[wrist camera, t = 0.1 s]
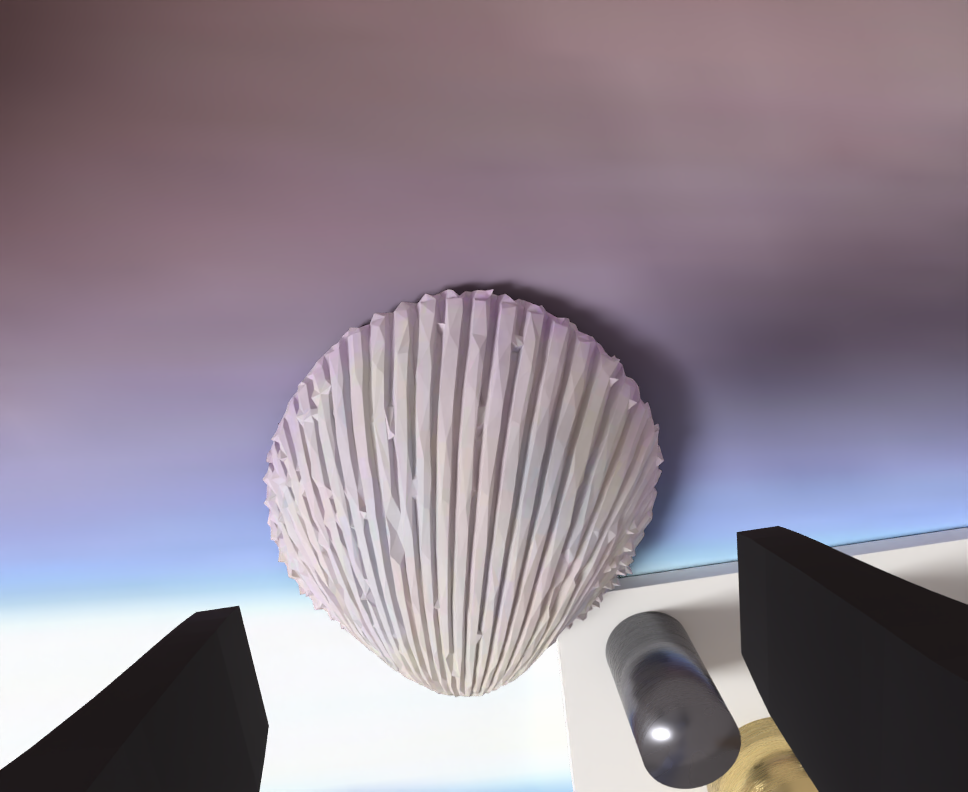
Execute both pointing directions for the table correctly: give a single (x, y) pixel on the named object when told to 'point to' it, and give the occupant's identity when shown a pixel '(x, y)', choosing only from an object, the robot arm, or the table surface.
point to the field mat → (703, 648)
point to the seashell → (462, 485)
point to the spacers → (671, 702)
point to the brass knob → (764, 763)
